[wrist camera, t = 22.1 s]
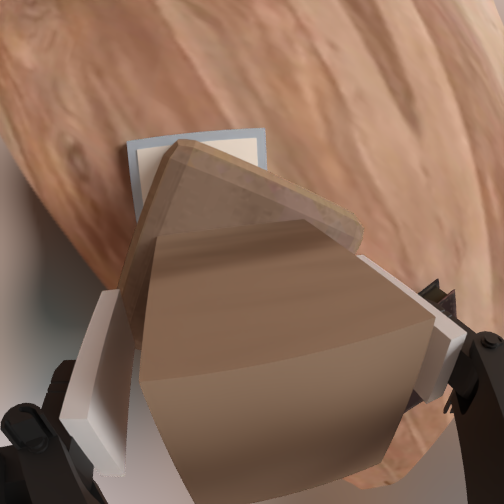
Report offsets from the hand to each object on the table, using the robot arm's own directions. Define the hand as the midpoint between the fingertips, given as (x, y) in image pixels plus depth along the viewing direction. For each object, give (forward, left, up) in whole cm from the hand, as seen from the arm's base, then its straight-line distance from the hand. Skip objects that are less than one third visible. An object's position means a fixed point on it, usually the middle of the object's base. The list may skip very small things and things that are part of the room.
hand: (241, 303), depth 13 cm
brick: (0, 0, -1) cm, 1 cm away
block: (0, 0, -21) cm, 21 cm away
